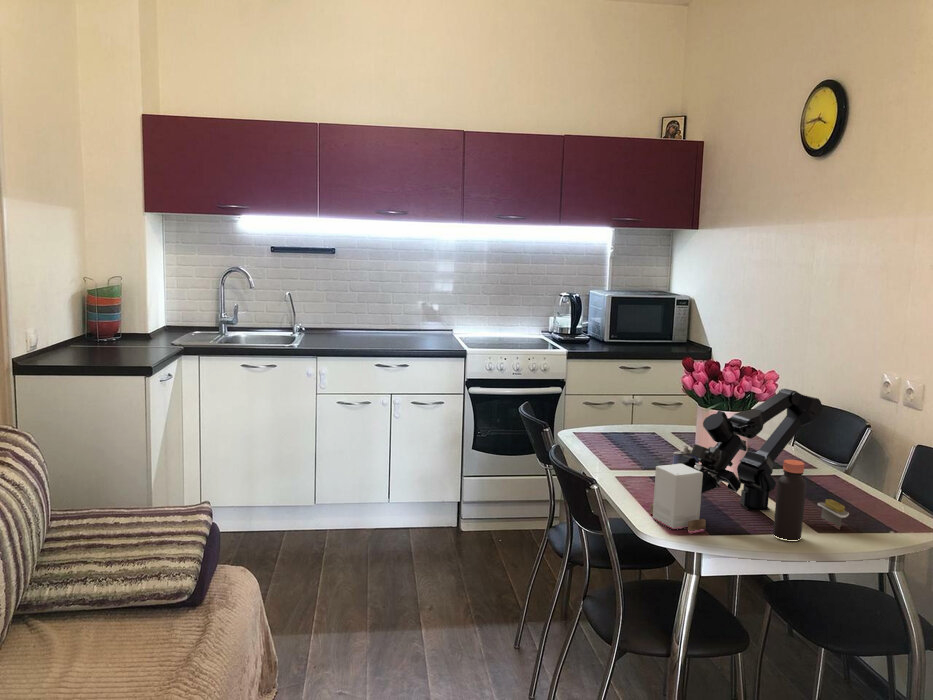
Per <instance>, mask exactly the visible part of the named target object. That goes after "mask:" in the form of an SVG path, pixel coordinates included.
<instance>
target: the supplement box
mask: <svg viewBox="0 0 933 700" xmlns="http://www.w3.org/2000/svg"><path fill="white" fill-rule="evenodd" d="M702 479H703V472H700V471H698V470H695V469H693V468H691V467H688V466H686V465H684V464H673V463H672V464H664V465H656V466H655V477H654V493H653V503H652V504H653V516H652V519H653V518H655V519H657V520H658V521H661V522H662V523H664V524H666V525H668V526H670V527H672V528H676V527H686V526H688V521H693V520H698V519H700V513H701V502H702V494H701V491H702Z"/></svg>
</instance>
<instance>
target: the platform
mask: <svg viewBox="0 0 933 700" xmlns="http://www.w3.org/2000/svg"><path fill="white" fill-rule="evenodd" d="M817 506H819V507H821V516H820V519H821V518H823V519H825V520H827V521H829V522H832V523H833V524H835V525H837V526H839V527H842V521H843V518H847V517H848V516H849V515H850V512H849V511H847V510H845V508H846V507H845V506H846V505H843V504H841V503H840V502H838V501H835V500H833V499H830V498H829V499H827V498H826V499H825V501H824V502H817Z"/></svg>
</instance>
